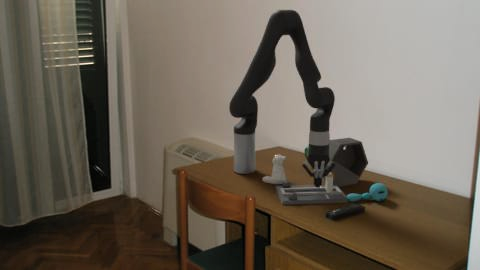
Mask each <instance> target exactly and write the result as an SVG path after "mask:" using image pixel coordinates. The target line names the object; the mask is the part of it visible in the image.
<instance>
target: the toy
mask: <svg viewBox="0 0 480 270" xmlns="http://www.w3.org/2000/svg"><path fill="white" fill-rule="evenodd" d="M388 192H389V191H388V189H387V186H386V185H385V184H384V183H380V182H377V183H374V184H372V185H371V186H370V188H369V192H365V193H362V194H359V193H348V194H347V195H346V197H347V198H348V202H353V203H354V202H357V201H360V200H363V199H364V200H368V199H370V198H371V199H372V200H374V201H377V202H381V201H383V200H385V199H386V198H387V197H388V194H389V193H388Z"/></svg>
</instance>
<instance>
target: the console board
mask: <svg viewBox="0 0 480 270" xmlns="http://www.w3.org/2000/svg"><path fill="white" fill-rule="evenodd" d="M291 184H292V182H291V181H289V180H286V181H283V184H282V185H275V191H276V193H277V195H278V198H279V201H280V203H281V205H285V206H287V205H313V204H316V205H317V204H344V203H346V204H348V202H349V201H348V198H347V195H346V194H345V193H344V191H343V190H342V189H341V187H338V186H337V184H333V191H326V189H325V184H322V185H321V186H320V188H316V187H315V186H314V184H301V185H300V184H297V185H291Z"/></svg>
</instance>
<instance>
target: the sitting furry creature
mask: <svg viewBox="0 0 480 270" xmlns="http://www.w3.org/2000/svg"><path fill="white" fill-rule="evenodd" d="M286 157H287V156H285V155H281V154H280V153H279V154H274V157H273V158H272V161H271V163H272V164H273V166H272V170H271V171H272V172H271V176H270V175H265V176H263V177H262V182H263V183H266V184H271V185H278V186H281V185H283V181H287V175H286V173H285V168H284V166H283V162H284V160H286Z"/></svg>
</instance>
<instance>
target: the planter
mask: <svg viewBox="0 0 480 270" xmlns="http://www.w3.org/2000/svg"><path fill="white" fill-rule="evenodd" d="M329 158H330V161H332V162H334V163H335V167H334V168H333V169H332V170H331V171H330V173H332V174H333V175H334V176H333V184H337V186H338V187H339V188H342V187H347V186H353V185H357V184H358V182H359V181H360V178H361V177H362V175H363V173H364V171H365V170H366V168H367V166H368V165H369V161H368V158H367V155H366V150H365V149H364V144H363V142H362V141H360V140H358V139H354V138H352V137H343V138H337V139H330V142H329ZM327 166H328V164H327V165H326V167H325V168H324V170H325V169H326V168H327ZM322 179H323V181H324V183H325V182H326V176H324V177H322Z"/></svg>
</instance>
